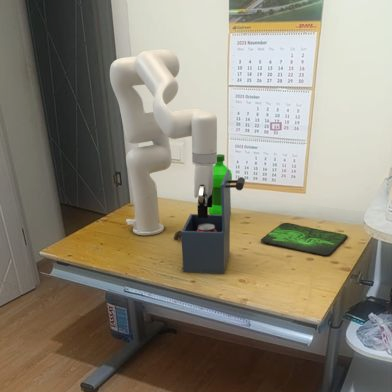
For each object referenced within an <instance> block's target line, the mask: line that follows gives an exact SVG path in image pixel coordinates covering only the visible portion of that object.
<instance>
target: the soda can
mask: <svg viewBox="0 0 392 392" xmlns="http://www.w3.org/2000/svg"><path fill="white" fill-rule="evenodd" d="M197 231H200V232H217V231H216V229H215V226H214V225H213V224H208V223H206V224H201V225H199V226H198V229H197Z"/></svg>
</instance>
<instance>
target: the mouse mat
mask: <svg viewBox="0 0 392 392" xmlns="http://www.w3.org/2000/svg"><path fill="white" fill-rule="evenodd" d="M347 238H348V235H347V234H345V233H340V232H336V231H335V232H334V231H328V230H325V229H318V228H313V227H310V226H304V225H299V224H295V223H291V222H282V223H281V224H279V225H278V226H277V227H275V228H273V229H272V230H271V231H270V232H268V233H267V234H266V235H265V236H263V237H262V238H261V239H260V241H261V242H262V243H265V244H270V245H274V246H278V247H283V248H287V249H291V250H297V251H301V252H305V253H312V254H317V255H321V256H326V257H328V256H331V255H332V254H333V253H334V252H335V251H336V250H337V249H338V248H339V247H341V245H342V244H343V243H344V242H345V241H346V240H347Z"/></svg>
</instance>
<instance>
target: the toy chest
mask: <svg viewBox="0 0 392 392" xmlns="http://www.w3.org/2000/svg"><path fill="white" fill-rule="evenodd" d="M230 221H231V218H229V221H228V224H227V227H226V230H225V232H223V229H222V215H210V214H209V213H208V217H207V218H198V213H190V214H189V216H188V218H187V219H186V222H185V224H184V225H183V228H182V229H181V230H180V231H181V239H182V241H181V255H182V257H181V258H182V272H183V273H200V274H201V273H202V274H221V275H222V274H225V272H226V267H227V264H228V260H229V256H230V251H231V249H230V248H231V247H230V245H231V244H230V243H231V242H230V241H231V240H230V239H231V238H230V237H231V236H230V235H231V230H230V229H231V222H230ZM206 223H208V224H213V225H214V226H215V229H216V231H217V232H200V231H197V229H198V226H199V225H201V224H206Z"/></svg>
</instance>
